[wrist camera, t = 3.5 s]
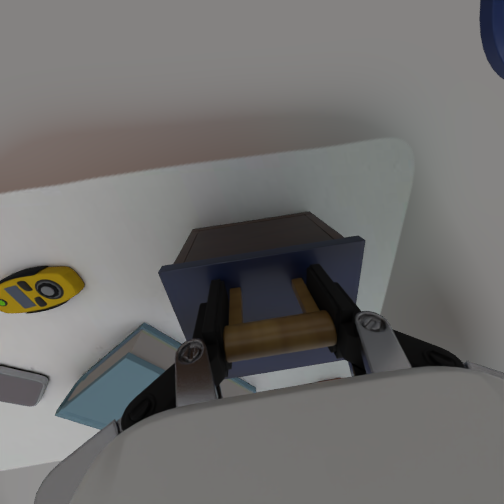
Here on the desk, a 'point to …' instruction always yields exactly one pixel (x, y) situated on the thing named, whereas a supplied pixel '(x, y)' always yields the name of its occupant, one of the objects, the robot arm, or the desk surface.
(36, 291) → the yellow plastic handheld
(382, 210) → the desk surface
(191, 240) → the chest
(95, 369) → the book
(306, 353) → the navy box cover
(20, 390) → the smartphone
